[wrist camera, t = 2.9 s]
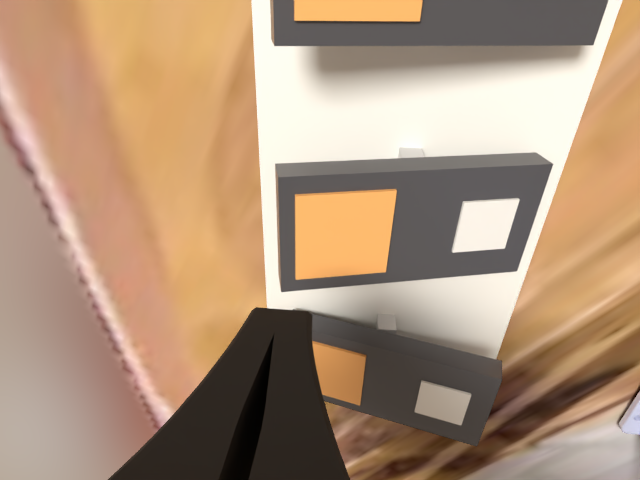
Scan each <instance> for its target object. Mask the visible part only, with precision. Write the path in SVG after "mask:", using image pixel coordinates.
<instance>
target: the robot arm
mask: <svg viewBox="0 0 640 480" xmlns="http://www.w3.org/2000/svg"><path fill="white" fill-rule="evenodd" d="M312 316H313V315H312V314H310V313H309V312H308V311H299V310H284V309H270V308H255V309H253V310H252V311H251V313H250V314H249V316H248V318H247V319H246V321H245V323H244V324H243V326H242V327H241V329H240V330H239V332H238V333H237V335H236V336H235V338H234V339H233V341H232V342H231V343H230V345H229V346H228V348H227V349H226V350H225V352H224V353H223V354H222V356H221V357H220V358H219V360H218V361H217V362H216V364H215V365H214V366H213V368H212V369H211V370H210V371H209V373H208V374H207V375H206V377H205V378H204V379H203V380H202V382H201V383H200V384H199V385H198V386H197V388H196V389H195V390H194V391H193V392H192V393H191V395H190V396H189V397H188V398H187V399H186V400H185V402H184V403H183V404H182V405H181V406H180V408H179V409H178V410H177V411H176V412H175V413H174V414H173V415H172V417H171V418H170V419H169V420H168V421H167V422H166V423H165V424H164V425H163V426H162V427H161V428H160V429H159V430H158V432H157V433H156V434H155V435H154V436H153V437H152V438H151V439H150V440H149V441H148V442H147V443H146V444H145V445H144V446H143V447H142V448H141V449H140V450H139V451H138V452H137V453H136V454H135V455H134V456H133V457H131V458H130V459H129V460H128V461H127V462H126V463H125V464H124V465H123V466H122V467H121V468H120V469H119V470H118V471H117V472H115V473H114V474H113V475H112V476H111V477H110V478H109V479H108V480H350V478H349V476H348V473H347V470H346V468H345V465H344V462H343V459H342V457H341V454H340V451H339V448H338V445H337V442H336V439H335V436H334V433H333V430H332V427H331V424H330V420H329V417H328V414H327V410H326V407H325V403H324V399H323V395H322V391H321V387H320V383H319V378H318V374H317V369H316V364H315V358H314V351H313V344H312ZM619 427H620V428H621V430H622V432H624V433H627V434H638V435H639V436H640V391H639V393H638V394H637V396H636V397H635V399H634V400H633V402H632V404H631V405H630V407H629V408H628V410H627V411H626V413H625V414H624V416H623V418H622V419H621V421H620V422H619Z"/></svg>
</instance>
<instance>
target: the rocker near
mask: <svg viewBox="0 0 640 480" xmlns="http://www.w3.org/2000/svg"><path fill="white" fill-rule="evenodd" d="M607 3H608V0H270V14H271V40H272V42H273V44H274V46H577V45H594V42H595V39H596V36H597V33H598V30H599V27H600V24H601V21H602V18H603V15H604V12H605V9H606V6H607Z"/></svg>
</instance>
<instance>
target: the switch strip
mask: <svg viewBox="0 0 640 480" xmlns="http://www.w3.org/2000/svg"><path fill="white" fill-rule="evenodd" d="M621 3H622V0H608V3H607V6H606V9H605V12H604V15H603V18H602V21H601V24H600V27H599V30H598V33H597V36H596V39H595V42H594V45H577V46H274V44H273V42H272V40H271V14H270V0H252V19H253V39H254V58H255V78H256V98H257V117H258V137H259V157H260V177H261V196H262V216H263V236H264V256H265V275H266V295H267V308H270V309H284V310H293V309H295V310H299V311H308V312H309V313H311V314H315V315H319V316H323V317H327V318H331V319H335V320H339V321H343V322H347V323H351V324H355V325H359V326H363V327H367V328H372V329H376V330H380V331H384V332H388V333H392V334H396V335H400V336H404V337H408V338H412V339H416V340H420V341H424V342H428V343H432V344H436V345H440V346H444V347H448V348H452V349H456V350H460V351H464V352H468V353H472V354H476V355H480V356H484V357H488V358H492V359H496V358H497V355H498V352H499V349H500V346H501V344H502V341H503V338H504V335H505V332H506V329H507V326H508V324H509V321H510V318H511V315H512V312H513V309H514V307H515V304H516V301H517V298H518V295H519V292H520V290H521V287H522V284H523V281H524V278H525V275H526V273H527V270H528V267H529V264H530V261H531V258H532V256H533V253H534V250H535V247H536V244H537V241H538V239H539V236H540V233H541V230H542V227H543V224H544V221H545V219H546V216H547V213H548V210H549V207H550V204H551V202H552V199H553V196H554V193H555V190H556V187H557V185H558V182H559V179H560V176H561V173H562V170H563V168H564V165H565V162H566V159H567V156H568V153H569V151H570V148H571V145H572V142H573V139H574V136H575V134H576V131H577V128H578V125H579V122H580V119H581V116H582V114H583V111H584V108H585V105H586V102H587V99H588V97H589V94H590V91H591V88H592V85H593V82H594V80H595V77H596V74H597V71H598V68H599V65H600V63H601V60H602V57H603V54H604V51H605V48H606V46H607V43H608V40H609V37H610V34H611V31H612V29H613V26H614V23H615V20H616V17H617V14H618V11H619V9H620V6H621ZM532 152H536V153H538V154H539V155H541V156H542V157H544V158H545V159H547V160H548V161H550V162H551V163H553V166H552V169H551V172H550V175H549V178H548V181H547V184H546V187H545V190H544V193H543V196H542V199H541V202H540V205H539V208H538V211H537V214H536V217H535V220H534V223H533V226H532V229H531V232H530V235H529V238H528V241H527V244H526V246H525V249H524V252H523V255H522V258H521V261H520V264H519V267H518V270H517V271H516V272H505V273H493V274H482V275H471V276H459V277H448V278H437V279H425V280H414V281H403V282H391V283H380V284H369V285H358V286H346V287H335V288H324V289H312V290H301V291H290V292H281V288H280V282H279V275H278V243H277V210H276V178H275V164H277V163H300V162H324V161H347V160H370V159H393V158H416V157H439V156H462V155H485V154H508V153H532Z"/></svg>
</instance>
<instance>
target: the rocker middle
mask: <svg viewBox="0 0 640 480" xmlns="http://www.w3.org/2000/svg"><path fill="white" fill-rule="evenodd" d="M552 166H553V163H551V162H550V161H548V160H547V159H545V158H544V157H542V156H541V155H539V154H538V153H536V152H532V153H508V154H485V155H462V156H439V157H416V158H393V159H370V160H347V161H324V162H300V163H277V164H275V178H276V210H277V243H278V275H279V282H280V288H281V292H290V291H301V290H312V289H324V288H335V287H346V286H358V285H369V284H380V283H391V282H403V281H414V280H425V279H437V278H448V277H459V276H471V275H482V274H493V273H505V272H516V271H517V270H518V267H519V264H520V261H521V258H522V255H523V252H524V249H525V246H526V244H527V241H528V238H529V235H530V232H531V229H532V226H533V223H534V220H535V217H536V214H537V211H538V208H539V205H540V202H541V199H542V196H543V193H544V190H545V187H546V184H547V181H548V178H549V175H550V172H551V169H552Z"/></svg>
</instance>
